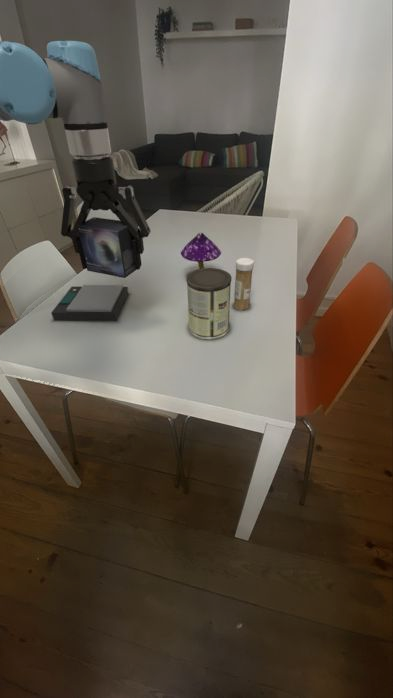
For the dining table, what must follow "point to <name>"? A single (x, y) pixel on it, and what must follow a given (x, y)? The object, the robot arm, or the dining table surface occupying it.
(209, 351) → the dining table surface
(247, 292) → the sprinkles bottle
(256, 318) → the dining table surface
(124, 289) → the scale
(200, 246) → the decorative mushroom
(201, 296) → the coffee can
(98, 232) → the small box
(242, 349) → the dining table surface
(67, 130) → the robot arm
